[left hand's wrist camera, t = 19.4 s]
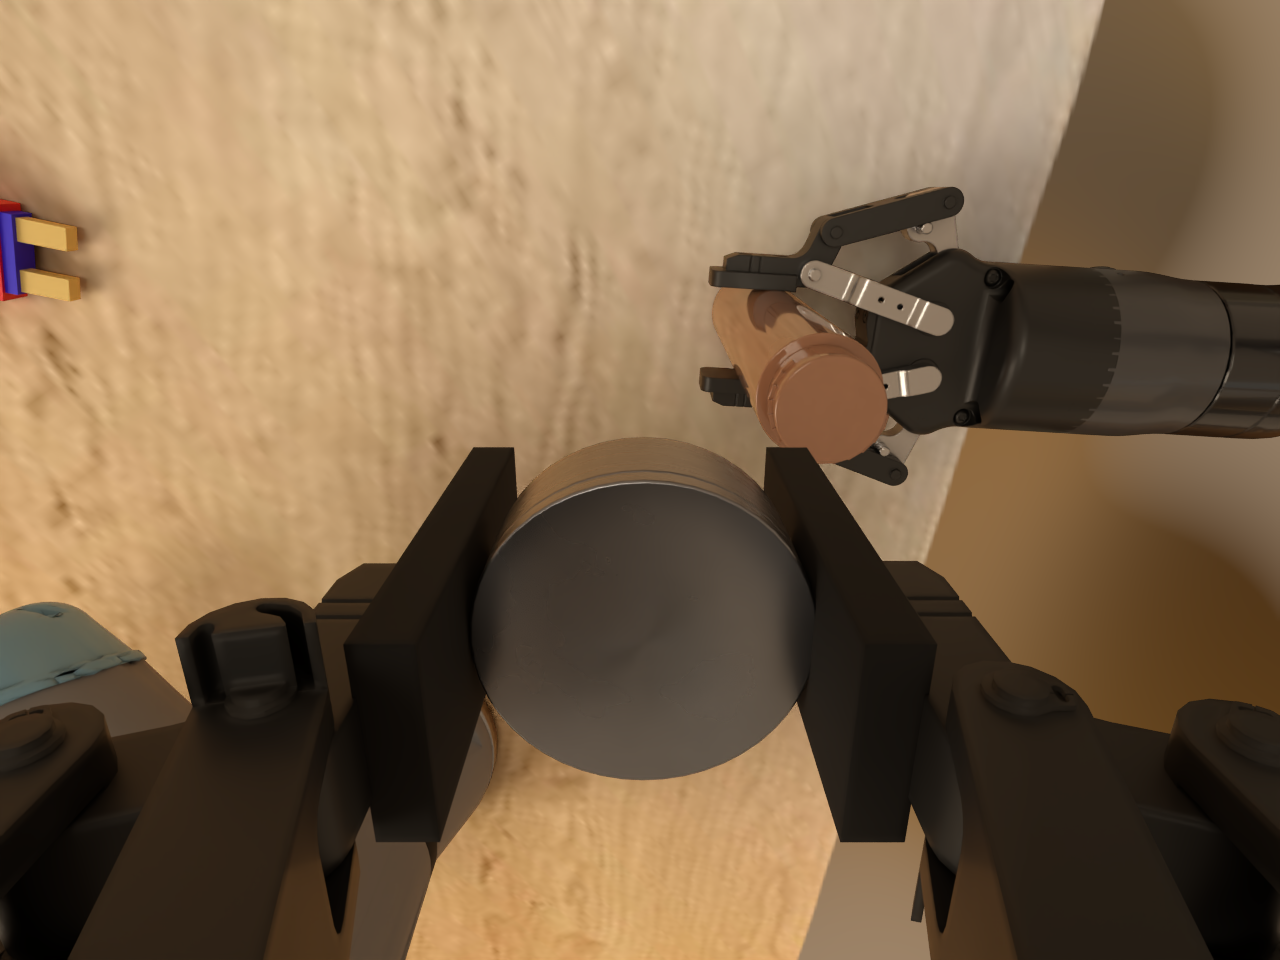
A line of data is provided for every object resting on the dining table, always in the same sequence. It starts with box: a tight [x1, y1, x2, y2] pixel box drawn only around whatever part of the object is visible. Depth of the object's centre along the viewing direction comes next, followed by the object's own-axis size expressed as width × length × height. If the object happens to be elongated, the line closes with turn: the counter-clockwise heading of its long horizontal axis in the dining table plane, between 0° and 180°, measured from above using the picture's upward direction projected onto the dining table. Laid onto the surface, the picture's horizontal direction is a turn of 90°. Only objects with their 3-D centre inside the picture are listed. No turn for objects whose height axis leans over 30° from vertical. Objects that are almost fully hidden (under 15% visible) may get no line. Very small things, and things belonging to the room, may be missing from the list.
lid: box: [470, 437, 816, 780], centre depth 11 cm, size 5×5×2 cm
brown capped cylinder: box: [712, 287, 889, 464], centre depth 31 cm, size 4×4×19 cm
